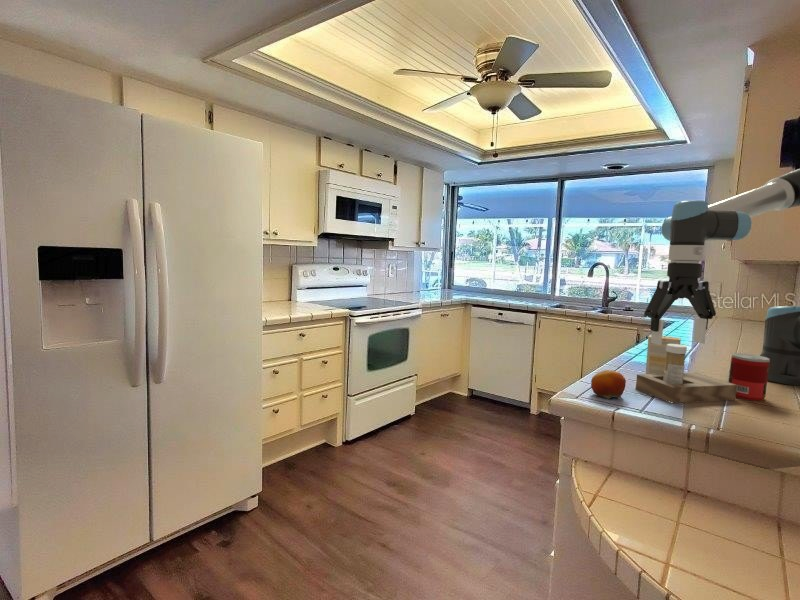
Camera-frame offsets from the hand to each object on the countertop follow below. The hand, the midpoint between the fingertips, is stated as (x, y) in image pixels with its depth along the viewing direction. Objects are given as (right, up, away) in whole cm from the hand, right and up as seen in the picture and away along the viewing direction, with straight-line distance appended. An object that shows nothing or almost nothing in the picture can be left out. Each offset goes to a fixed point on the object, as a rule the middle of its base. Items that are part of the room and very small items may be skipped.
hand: (677, 343), depth 116 cm
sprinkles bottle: (-1, -14, +1) cm, 14 cm away
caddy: (+3, -14, +2) cm, 14 cm away
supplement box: (+5, -13, +16) cm, 21 cm away
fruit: (-20, -14, -2) cm, 24 cm away
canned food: (+20, -15, +2) cm, 25 cm away
